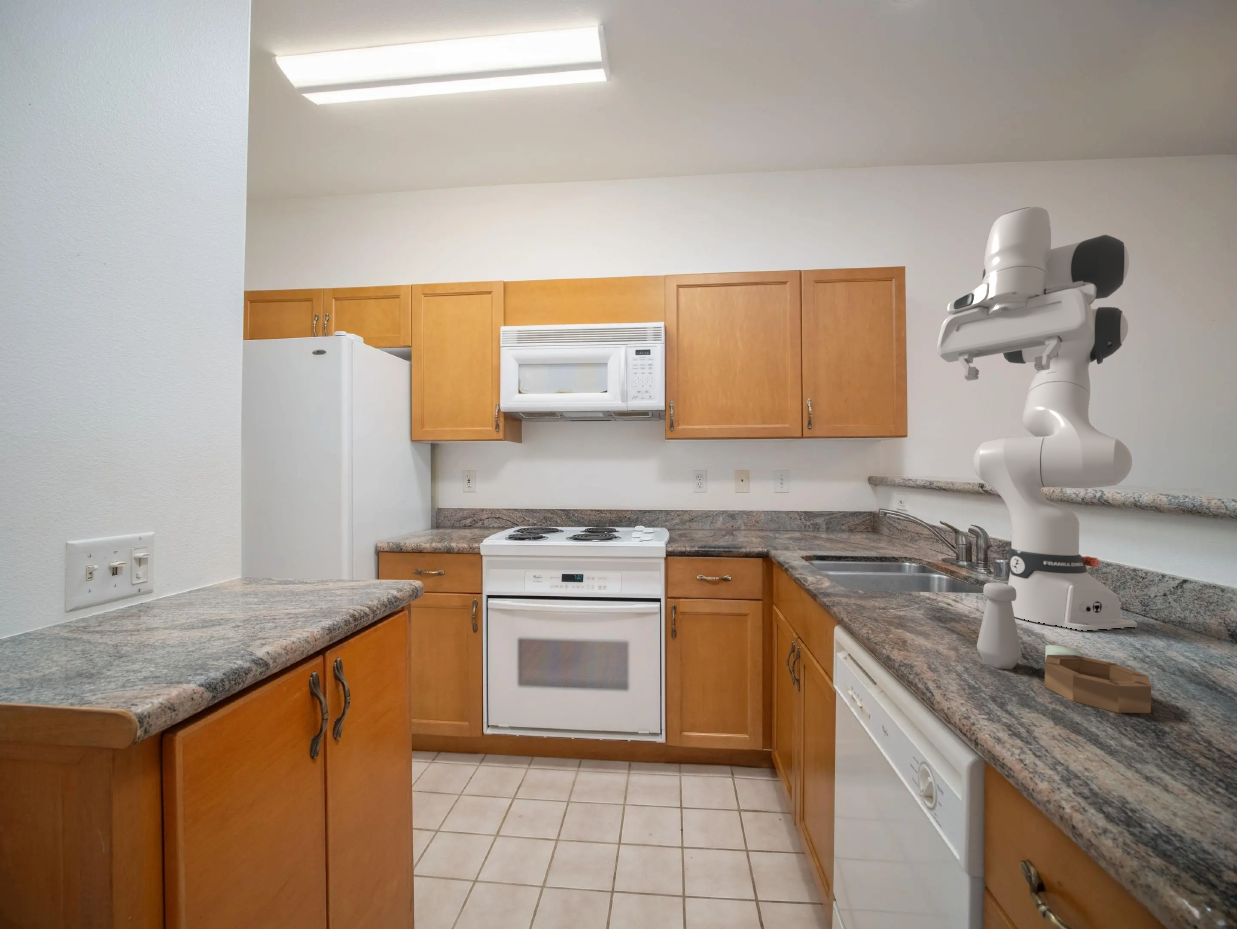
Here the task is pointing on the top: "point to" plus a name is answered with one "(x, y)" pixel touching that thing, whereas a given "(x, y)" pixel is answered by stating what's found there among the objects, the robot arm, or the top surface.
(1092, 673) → the walnut ring
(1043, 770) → the top surface
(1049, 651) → the smooth pale green pebble
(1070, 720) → the top surface
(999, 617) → the salt shaker
